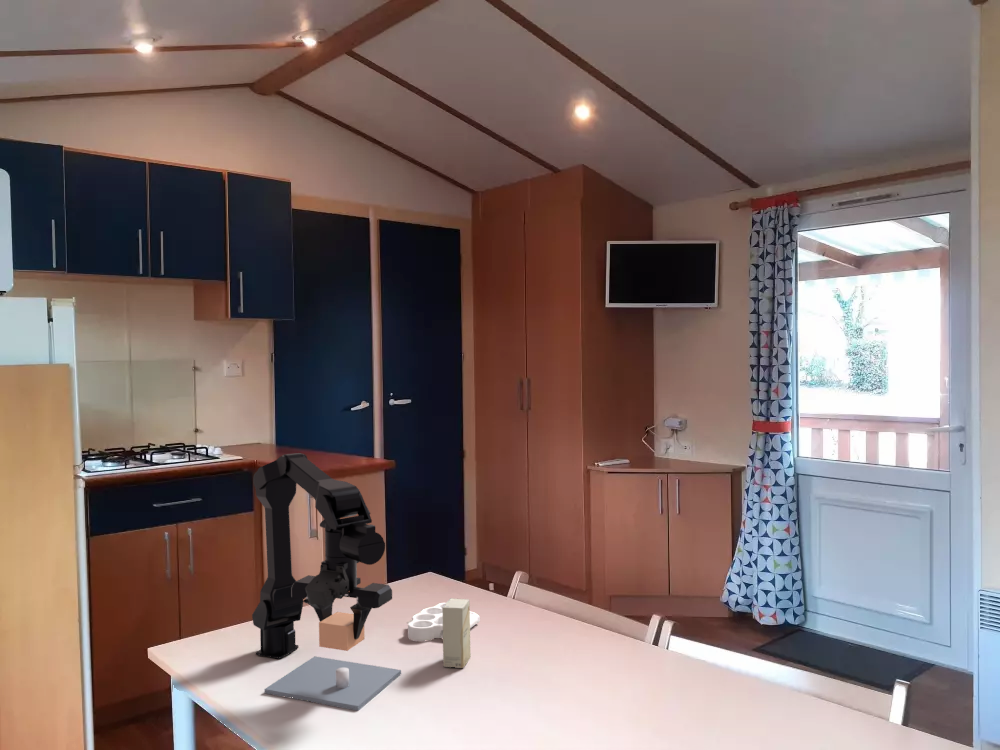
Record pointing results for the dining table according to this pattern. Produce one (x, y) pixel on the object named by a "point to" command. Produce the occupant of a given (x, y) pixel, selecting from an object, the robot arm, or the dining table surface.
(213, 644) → the dining table surface
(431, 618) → the white egg tray
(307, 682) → the base plate
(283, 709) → the dining table surface
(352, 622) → the orange block
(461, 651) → the skincare box
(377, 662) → the dining table surface
